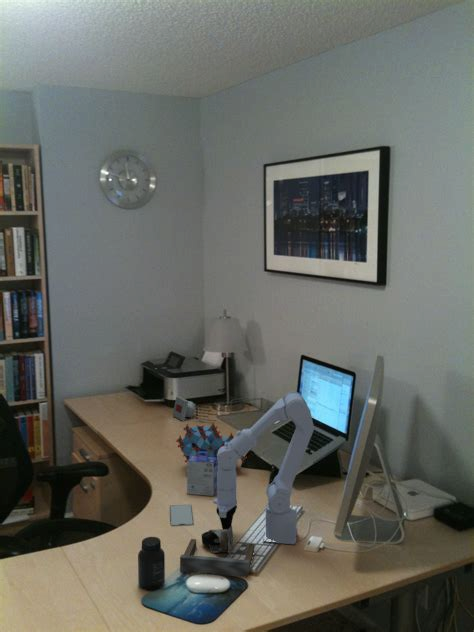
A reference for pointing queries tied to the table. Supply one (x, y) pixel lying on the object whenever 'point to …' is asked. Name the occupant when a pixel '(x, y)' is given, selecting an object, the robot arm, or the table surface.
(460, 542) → the table surface
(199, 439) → the molecule model
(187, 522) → the smartphone
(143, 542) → the supplement bottle
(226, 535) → the caster wheel
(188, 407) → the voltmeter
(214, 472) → the ink cartridge box
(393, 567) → the table surface
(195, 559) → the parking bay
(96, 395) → the table surface
